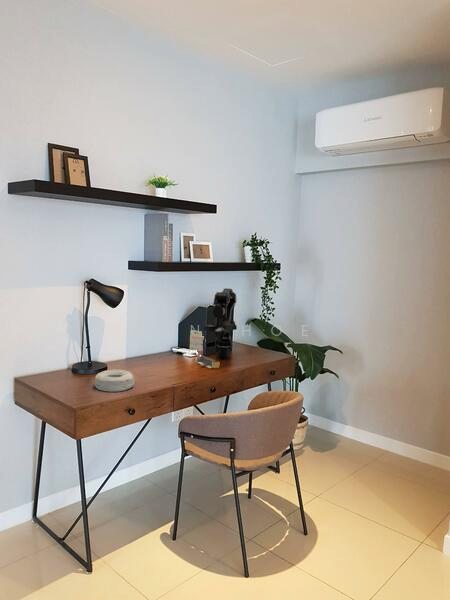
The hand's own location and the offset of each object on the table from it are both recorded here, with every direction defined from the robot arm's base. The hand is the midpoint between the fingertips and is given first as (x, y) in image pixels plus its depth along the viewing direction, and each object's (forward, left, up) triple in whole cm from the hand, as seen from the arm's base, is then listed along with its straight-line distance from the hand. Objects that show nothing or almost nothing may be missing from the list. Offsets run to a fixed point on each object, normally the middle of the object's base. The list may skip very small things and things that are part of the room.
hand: (220, 342), depth 267 cm
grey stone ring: (+68, +13, -12) cm, 70 cm away
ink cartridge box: (-2, -26, -12) cm, 28 cm away
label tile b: (+7, +4, -12) cm, 14 cm away
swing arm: (+7, -1, -12) cm, 14 cm away
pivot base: (+7, -8, -12) cm, 16 cm away
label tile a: (+7, -4, -12) cm, 14 cm away
